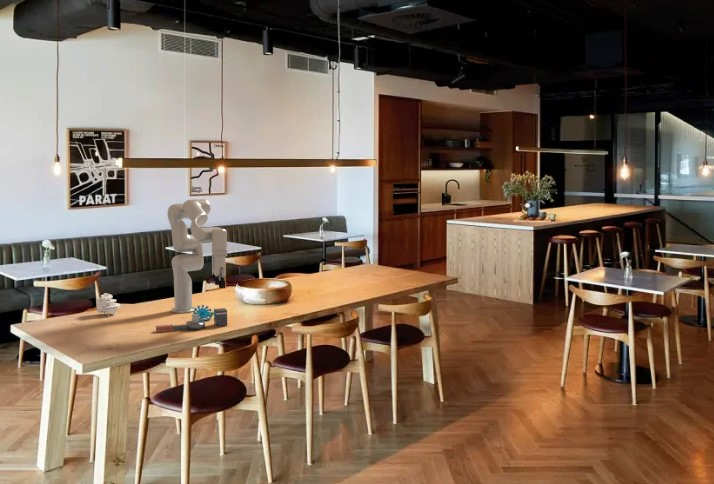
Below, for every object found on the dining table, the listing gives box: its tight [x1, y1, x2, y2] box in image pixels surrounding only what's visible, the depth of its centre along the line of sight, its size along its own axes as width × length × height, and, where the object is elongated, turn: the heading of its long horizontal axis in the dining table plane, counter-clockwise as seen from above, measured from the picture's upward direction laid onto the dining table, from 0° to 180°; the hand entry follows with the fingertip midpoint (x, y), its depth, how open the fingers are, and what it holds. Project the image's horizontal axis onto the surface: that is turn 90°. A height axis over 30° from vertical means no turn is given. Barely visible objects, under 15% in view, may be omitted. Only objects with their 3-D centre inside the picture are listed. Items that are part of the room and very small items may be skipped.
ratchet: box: [155, 314, 206, 334], centre depth 319 cm, size 9×24×7 cm, turn 113°
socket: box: [213, 307, 228, 328], centre depth 330 cm, size 6×6×8 cm
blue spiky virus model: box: [192, 304, 214, 322], centre depth 342 cm, size 11×6×10 cm
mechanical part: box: [96, 292, 121, 317], centre depth 350 cm, size 11×12×12 cm
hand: (220, 286), depth 328 cm, fingers open, 9 cm apart
